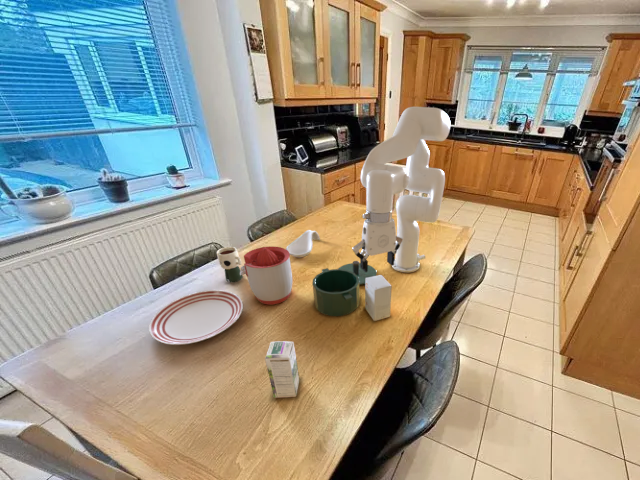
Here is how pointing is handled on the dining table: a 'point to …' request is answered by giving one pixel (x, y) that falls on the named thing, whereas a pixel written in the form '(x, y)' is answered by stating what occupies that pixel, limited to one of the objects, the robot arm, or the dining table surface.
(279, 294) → the citrus juicer
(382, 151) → the robot arm
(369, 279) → the small box
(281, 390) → the syrup box
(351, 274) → the pot
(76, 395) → the dining table surface
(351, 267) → the lid
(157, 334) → the dinner plate
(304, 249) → the spoon rest
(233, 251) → the character mug
